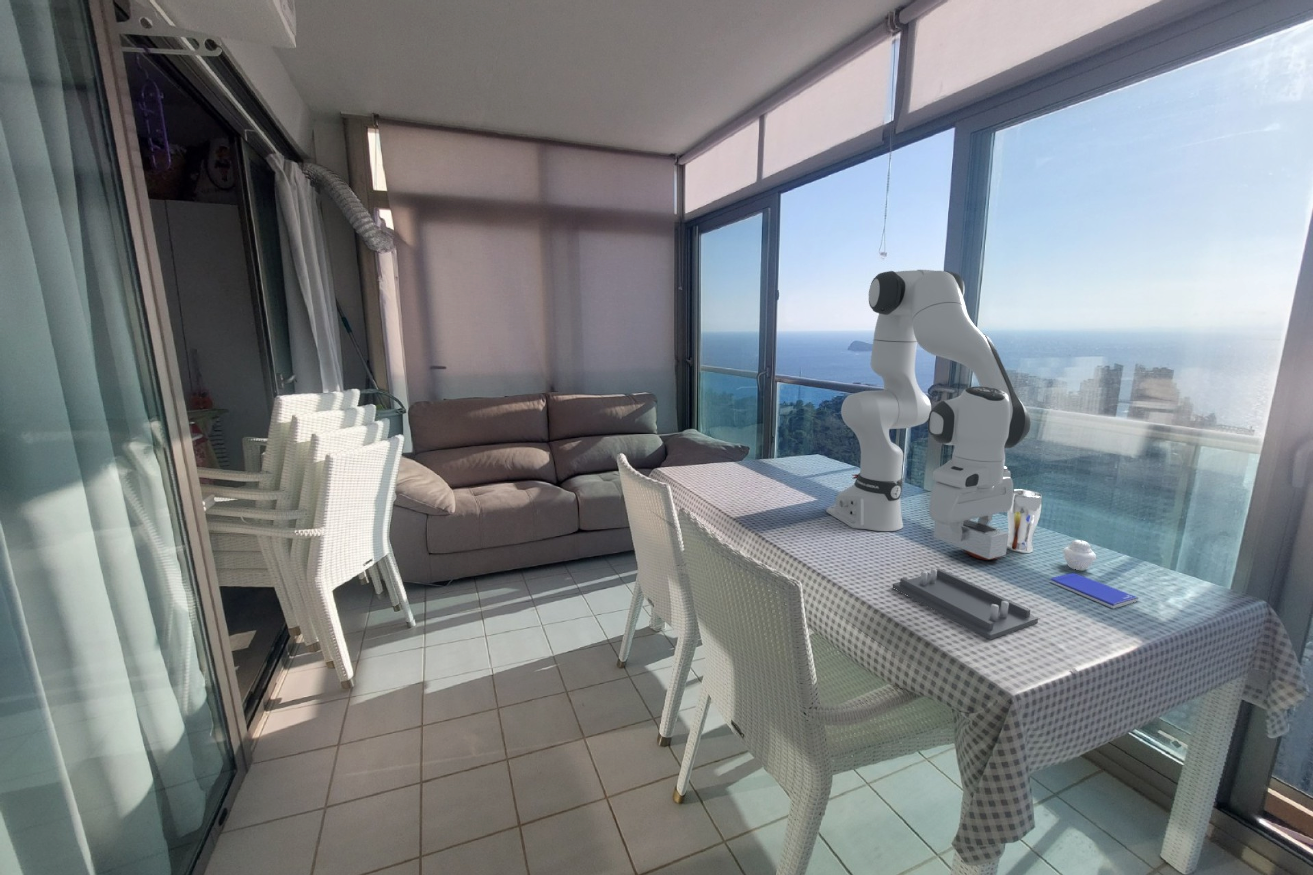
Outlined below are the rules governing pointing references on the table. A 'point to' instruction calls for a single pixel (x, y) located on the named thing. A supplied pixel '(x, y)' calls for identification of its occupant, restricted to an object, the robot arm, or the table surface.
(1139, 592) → the table surface
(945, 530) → the block
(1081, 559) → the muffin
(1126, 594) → the hard drive
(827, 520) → the table surface
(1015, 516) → the beer glass
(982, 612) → the tray
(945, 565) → the table surface
